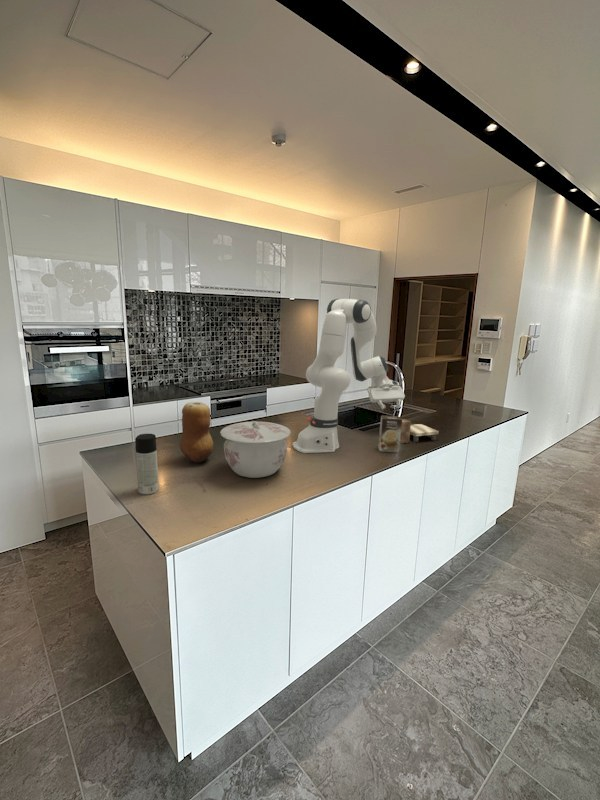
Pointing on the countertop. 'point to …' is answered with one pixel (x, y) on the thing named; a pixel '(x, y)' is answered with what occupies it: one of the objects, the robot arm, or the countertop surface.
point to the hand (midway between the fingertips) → (391, 407)
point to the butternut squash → (196, 432)
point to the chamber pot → (255, 447)
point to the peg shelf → (422, 432)
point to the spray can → (147, 463)
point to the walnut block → (405, 431)
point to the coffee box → (390, 433)
